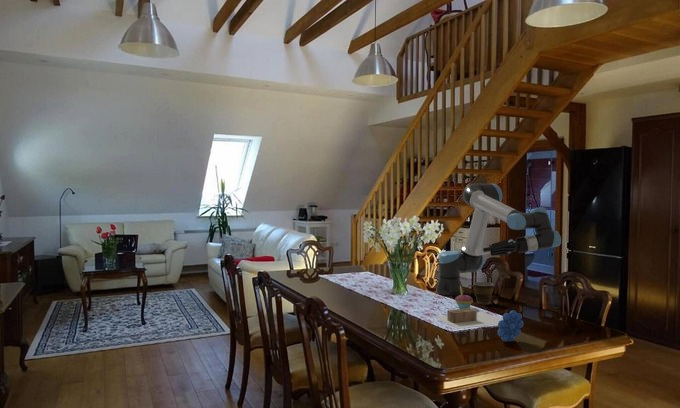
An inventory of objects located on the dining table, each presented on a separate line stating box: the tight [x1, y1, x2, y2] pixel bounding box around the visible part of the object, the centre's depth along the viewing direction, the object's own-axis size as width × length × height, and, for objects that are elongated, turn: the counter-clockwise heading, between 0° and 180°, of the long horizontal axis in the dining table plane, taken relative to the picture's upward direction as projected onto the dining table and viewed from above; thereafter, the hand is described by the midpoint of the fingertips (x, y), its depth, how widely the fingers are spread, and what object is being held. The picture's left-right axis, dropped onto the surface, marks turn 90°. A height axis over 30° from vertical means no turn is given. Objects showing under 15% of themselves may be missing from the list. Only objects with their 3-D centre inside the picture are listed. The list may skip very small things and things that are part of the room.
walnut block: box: [446, 307, 478, 323], centre depth 213 cm, size 5×4×12 cm
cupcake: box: [454, 286, 474, 309], centre depth 235 cm, size 9×8×12 cm
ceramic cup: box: [467, 281, 495, 306], centre depth 248 cm, size 13×10×10 cm
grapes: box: [496, 310, 525, 342], centre depth 186 cm, size 12×7×12 cm, turn 109°
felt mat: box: [434, 311, 503, 330], centre depth 215 cm, size 20×26×1 cm
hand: (476, 252), depth 229 cm, fingers closed
